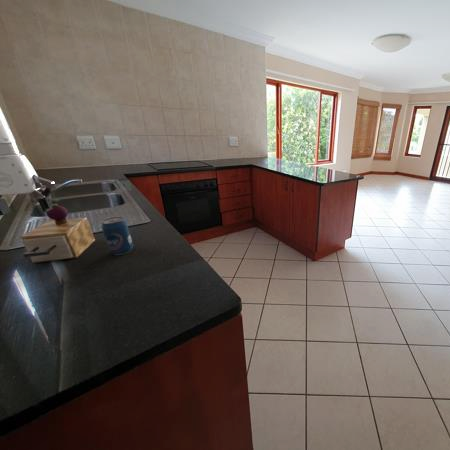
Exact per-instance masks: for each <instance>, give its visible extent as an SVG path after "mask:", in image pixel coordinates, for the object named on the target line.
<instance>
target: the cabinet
mask: <svg viewBox="0 0 450 450" xmlns="http://www.w3.org/2000/svg"><path fill="white" fill-rule="evenodd" d="M66 219H67V223H64V224H56V223H55V220H53V219H51V220H47V221H45V222H43V223H42V224H40V225H38V226H36V227H35V228H33V229H31V230H29V231H28V232H26V233H25V234H23V235H21V236H20V239H21V241H22V240H24V239H30V238H36V237H46V236H56V235H65V236H66V239H67V241H68V243H69V246H70V248H71V250H72V253H73V255H74V256H73V257H71V258H63V259H55V260H46V261H38V262H33V263H34V264H36V263H43V262H45V263H46V262H52V261H60V260H69V259H70V260H71V259H76V258H77V259H78V257H79V256H80V255H82V254H83V253H84V251H86V250H87V249H88V248H89V247H90V246H91V245H92V244H93V243H94V242H95V241H96V239H95V236H94V234H93V231H92V227H91V225H90V223H89V219H88V218H87V217H78V218H77V217H76V218H66Z"/></svg>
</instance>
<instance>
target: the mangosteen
mask: <svg viewBox="0 0 450 450" xmlns="http://www.w3.org/2000/svg"><path fill="white" fill-rule="evenodd" d="M52 208H53V209H52V210H50V211H48V212H46V215H47V217H48V218H49V219H50V220H55V223H56V224H64V223H67V219H68V218H67V217H68V215H69V211H68V209H67V208H66V207H64V206H62V205H58V203H52Z"/></svg>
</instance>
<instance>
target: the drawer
mask: <svg viewBox="0 0 450 450" xmlns="http://www.w3.org/2000/svg"><path fill="white" fill-rule="evenodd" d="M21 243H22V244H23V247H24V248H25V251H27V252H24V253H23V257H24V258H30V260H31V262H32V263H34V262H37V263H39V262H38V261H45V262H47V261H46V260H53V261H56V260H55V259H61V260H64V259H63V258H70V259H72V258H71V257H73V256H74V255H73V253H72V250H71V248H70V246H69V243H68V241H67V239H66V236H65V235H56V236H46V237H36V238H30V239H24V240H22V239H21Z"/></svg>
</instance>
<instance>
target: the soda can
mask: <svg viewBox="0 0 450 450" xmlns="http://www.w3.org/2000/svg"><path fill="white" fill-rule="evenodd" d="M101 223H102V224H101V230H102V233H103V236H104V239H105V241H106V245H107V248H108V250H109V252H110V253H111V254H113V255H115V256H122V255H126V254H128V253H130V252H131V251H132V250H133V248H134V243H133V239H132V237H131V233H130V230H129V226H128V223H127V221H125V220H124V218H123V217H121V216H115V217H110V218H106V219H104V220H102V221H101Z"/></svg>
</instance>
